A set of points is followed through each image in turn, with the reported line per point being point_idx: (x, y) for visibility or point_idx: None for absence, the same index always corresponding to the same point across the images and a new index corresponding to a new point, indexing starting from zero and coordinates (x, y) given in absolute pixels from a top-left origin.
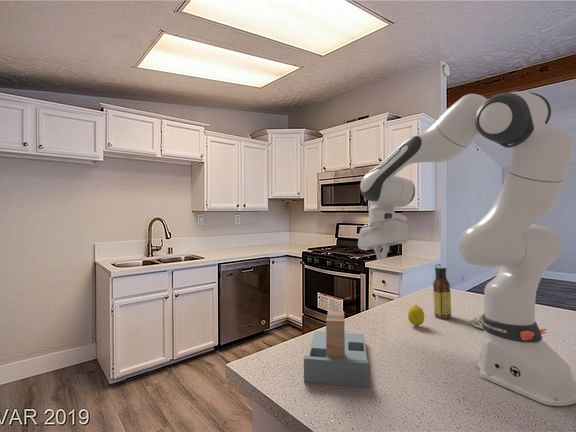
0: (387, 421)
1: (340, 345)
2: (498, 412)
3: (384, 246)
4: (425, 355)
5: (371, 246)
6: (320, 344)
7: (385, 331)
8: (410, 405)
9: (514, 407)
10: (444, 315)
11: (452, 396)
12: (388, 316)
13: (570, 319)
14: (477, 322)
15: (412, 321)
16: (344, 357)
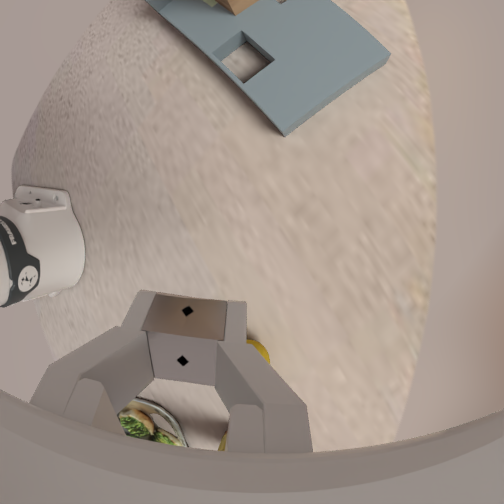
0: (115, 2)
1: None
2: (42, 124)
3: (50, 384)
4: (148, 195)
5: (368, 446)
6: (310, 7)
7: (294, 258)
8: (105, 41)
9: (35, 151)
10: None
11: (76, 104)
12: (351, 369)
13: None
14: (177, 433)
15: (248, 340)
16: (218, 2)
